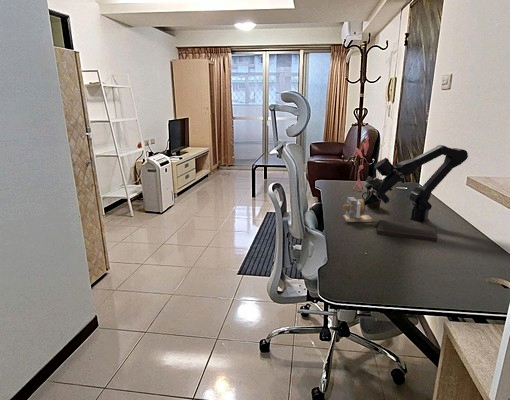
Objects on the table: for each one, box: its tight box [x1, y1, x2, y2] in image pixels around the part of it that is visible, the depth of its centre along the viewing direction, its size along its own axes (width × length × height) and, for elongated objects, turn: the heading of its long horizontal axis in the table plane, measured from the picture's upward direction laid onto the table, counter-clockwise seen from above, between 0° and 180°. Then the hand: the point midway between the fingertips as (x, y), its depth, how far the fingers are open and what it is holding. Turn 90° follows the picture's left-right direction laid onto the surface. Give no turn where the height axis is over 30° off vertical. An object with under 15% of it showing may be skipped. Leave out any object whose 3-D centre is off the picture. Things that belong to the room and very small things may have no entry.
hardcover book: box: [376, 219, 438, 243], centre depth 153 cm, size 16×23×2 cm
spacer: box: [356, 202, 361, 218], centre depth 168 cm, size 2×7×7 cm, turn 2°
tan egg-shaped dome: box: [342, 198, 366, 216], centre depth 168 cm, size 9×8×8 cm
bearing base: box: [342, 196, 374, 223], centre depth 168 cm, size 12×7×10 cm, turn 91°
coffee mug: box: [361, 189, 382, 209], centre depth 191 cm, size 12×9×10 cm
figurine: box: [352, 136, 370, 191], centre depth 229 cm, size 15×26×35 cm, turn 158°
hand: (362, 205), depth 168 cm, fingers closed, pressing on tan egg-shaped dome
